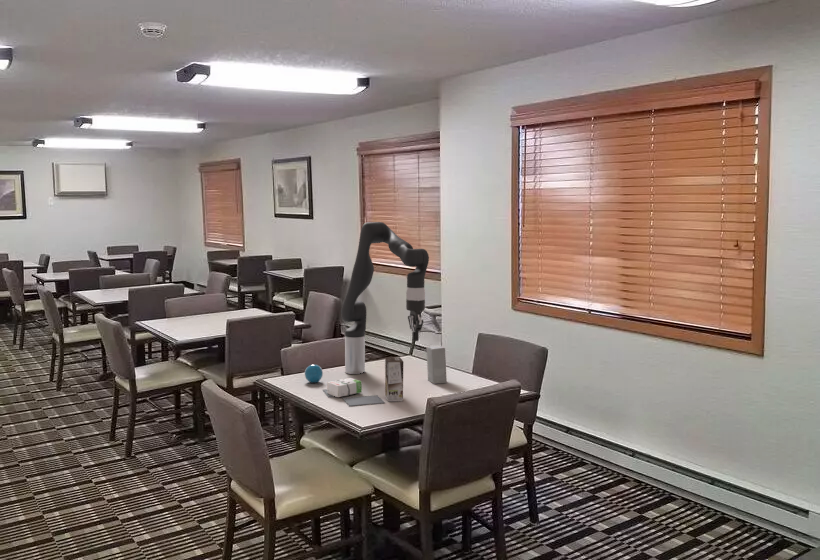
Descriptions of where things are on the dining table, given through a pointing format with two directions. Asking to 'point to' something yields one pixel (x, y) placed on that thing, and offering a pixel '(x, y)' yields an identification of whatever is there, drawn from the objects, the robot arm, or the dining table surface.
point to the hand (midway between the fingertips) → (415, 340)
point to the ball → (313, 373)
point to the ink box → (344, 387)
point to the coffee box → (394, 379)
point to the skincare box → (436, 364)
